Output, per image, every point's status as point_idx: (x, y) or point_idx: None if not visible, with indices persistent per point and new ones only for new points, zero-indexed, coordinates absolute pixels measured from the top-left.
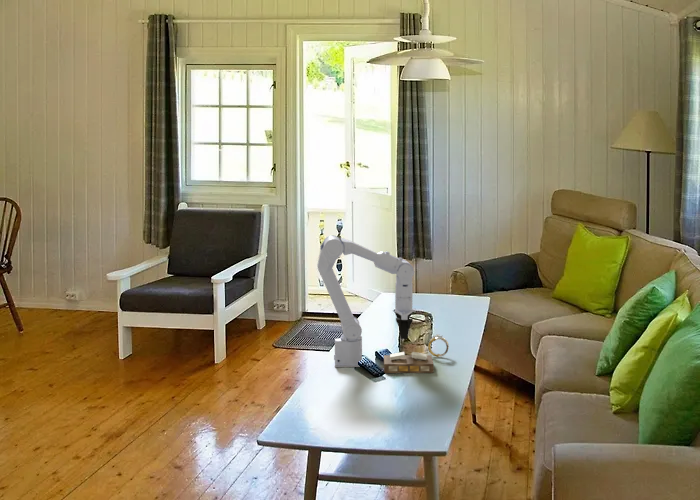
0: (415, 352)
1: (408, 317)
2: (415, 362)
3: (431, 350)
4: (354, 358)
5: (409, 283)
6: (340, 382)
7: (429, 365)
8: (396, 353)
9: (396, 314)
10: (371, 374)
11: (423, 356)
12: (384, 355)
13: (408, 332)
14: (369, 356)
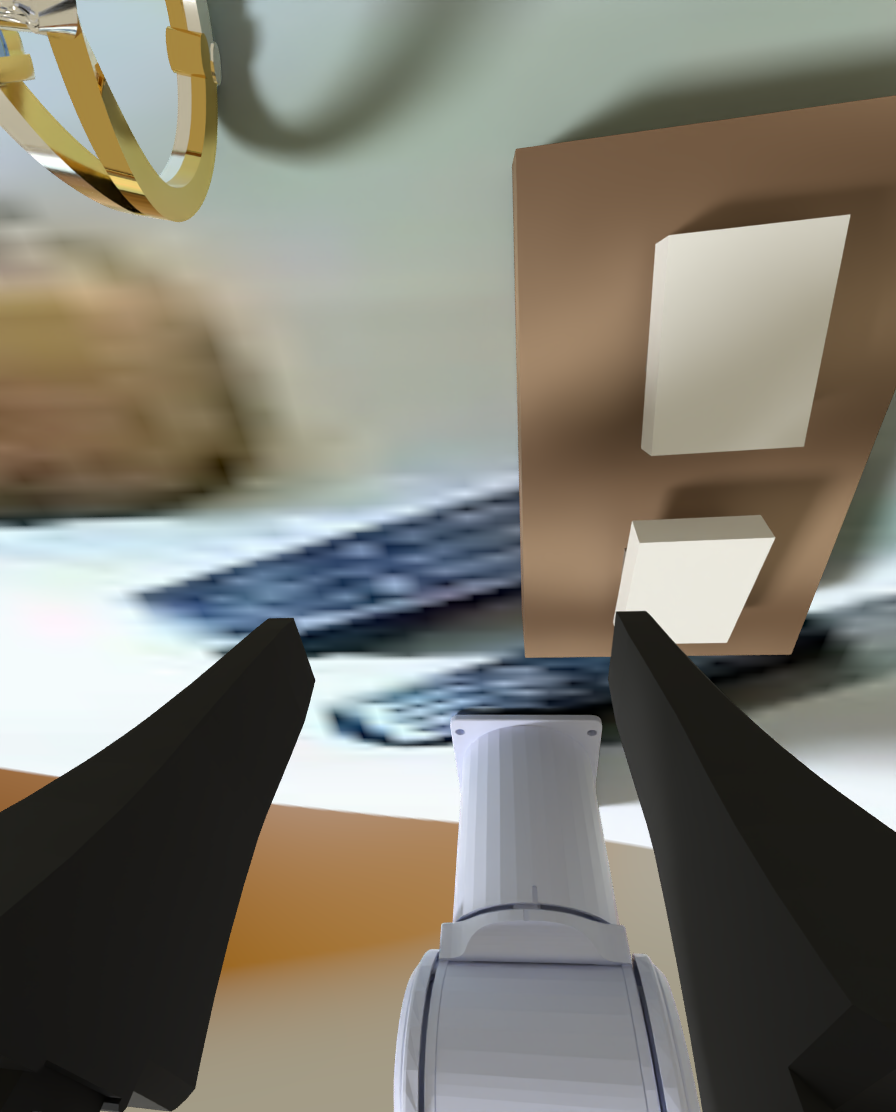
0: (666, 408)
1: (106, 859)
2: (828, 381)
3: (164, 169)
4: (595, 795)
5: None
6: (879, 793)
7: None
8: (645, 603)
9: (187, 1068)
10: (767, 672)
11: (833, 277)
12: (527, 654)
13: (707, 679)
14: (352, 684)
